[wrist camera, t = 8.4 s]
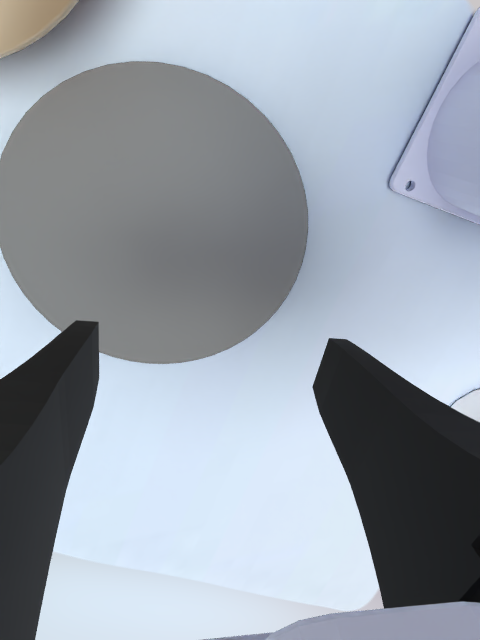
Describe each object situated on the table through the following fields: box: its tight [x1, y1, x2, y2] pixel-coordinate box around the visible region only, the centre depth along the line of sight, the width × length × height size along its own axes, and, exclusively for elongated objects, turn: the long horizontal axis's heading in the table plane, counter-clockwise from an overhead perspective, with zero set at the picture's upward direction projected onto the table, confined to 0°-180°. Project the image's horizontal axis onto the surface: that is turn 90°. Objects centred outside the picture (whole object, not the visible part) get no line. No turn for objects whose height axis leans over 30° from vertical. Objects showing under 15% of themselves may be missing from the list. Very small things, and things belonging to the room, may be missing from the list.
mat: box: [0, 62, 308, 364], centre depth 19 cm, size 15×15×1 cm
